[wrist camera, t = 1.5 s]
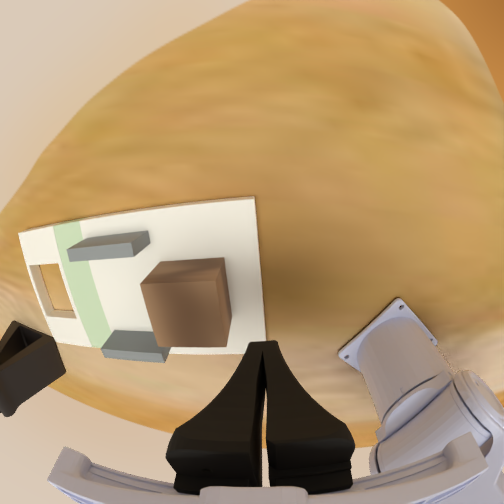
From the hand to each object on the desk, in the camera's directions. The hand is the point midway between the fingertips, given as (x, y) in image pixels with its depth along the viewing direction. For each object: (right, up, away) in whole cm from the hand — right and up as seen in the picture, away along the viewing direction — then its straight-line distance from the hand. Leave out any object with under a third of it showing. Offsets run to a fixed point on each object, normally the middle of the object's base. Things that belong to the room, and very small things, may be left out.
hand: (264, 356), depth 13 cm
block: (-5, +2, +8) cm, 10 cm away
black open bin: (-30, -8, +14) cm, 34 cm away
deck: (-12, +2, +10) cm, 15 cm away
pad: (-16, +2, +10) cm, 19 cm away
